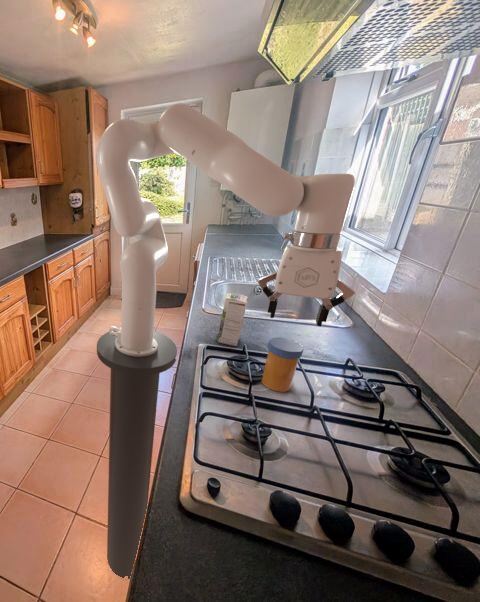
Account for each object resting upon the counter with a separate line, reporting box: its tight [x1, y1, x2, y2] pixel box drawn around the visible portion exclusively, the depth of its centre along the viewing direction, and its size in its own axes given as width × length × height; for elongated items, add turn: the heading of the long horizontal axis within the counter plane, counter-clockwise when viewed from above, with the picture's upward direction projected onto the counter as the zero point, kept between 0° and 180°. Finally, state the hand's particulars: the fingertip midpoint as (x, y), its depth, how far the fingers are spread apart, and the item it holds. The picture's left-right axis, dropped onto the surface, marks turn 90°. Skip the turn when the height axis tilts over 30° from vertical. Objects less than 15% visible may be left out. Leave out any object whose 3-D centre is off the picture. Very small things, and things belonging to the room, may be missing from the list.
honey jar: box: [261, 350, 300, 393], centre depth 71 cm, size 6×6×11 cm
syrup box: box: [216, 293, 249, 347], centre depth 90 cm, size 6×6×14 cm
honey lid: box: [267, 337, 305, 359], centre depth 69 cm, size 7×7×2 cm
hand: (294, 319), depth 66 cm, fingers open, 8 cm apart
